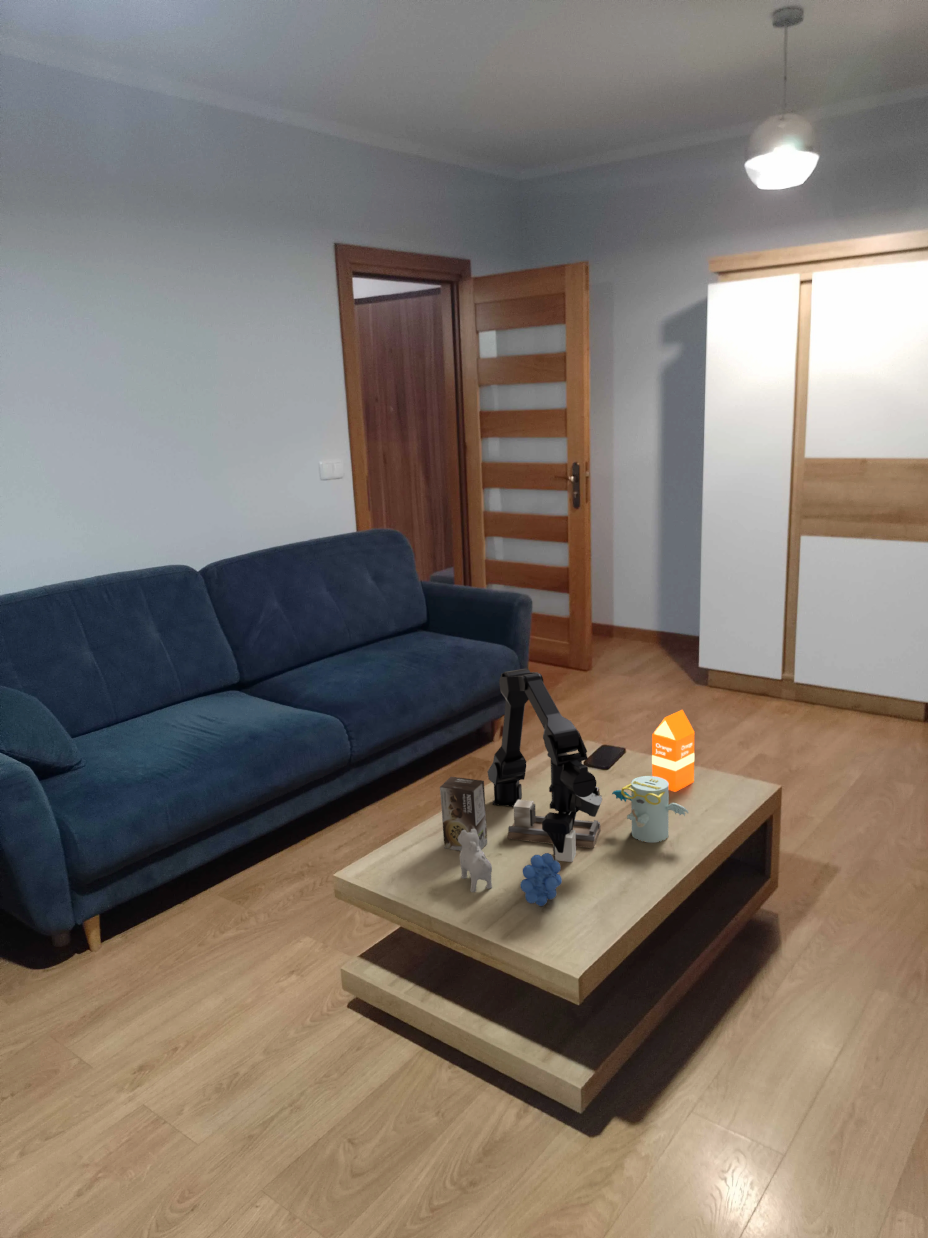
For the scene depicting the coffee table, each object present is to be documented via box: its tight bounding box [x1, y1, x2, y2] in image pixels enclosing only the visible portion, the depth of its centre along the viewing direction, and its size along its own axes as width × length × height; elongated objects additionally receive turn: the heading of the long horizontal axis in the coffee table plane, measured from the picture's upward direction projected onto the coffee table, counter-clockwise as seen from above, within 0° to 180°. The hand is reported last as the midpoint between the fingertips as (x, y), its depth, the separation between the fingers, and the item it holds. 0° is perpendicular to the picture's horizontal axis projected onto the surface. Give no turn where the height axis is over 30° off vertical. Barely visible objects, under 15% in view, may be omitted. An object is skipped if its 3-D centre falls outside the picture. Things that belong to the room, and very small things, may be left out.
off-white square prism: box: [552, 830, 577, 863], centre depth 211 cm, size 4×4×6 cm
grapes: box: [520, 852, 563, 907], centre depth 190 cm, size 12×7×12 cm, turn 132°
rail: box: [507, 799, 602, 849], centre depth 222 cm, size 21×9×8 cm, turn 71°
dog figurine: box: [458, 829, 493, 893], centre depth 203 cm, size 5×13×11 cm, turn 20°
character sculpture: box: [611, 775, 689, 843], centre depth 218 cm, size 20×12×13 cm, turn 52°
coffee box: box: [439, 776, 488, 852], centre depth 218 cm, size 9×6×16 cm
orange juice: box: [651, 709, 695, 793], centre depth 246 cm, size 8×9×20 cm
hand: (565, 843), depth 211 cm, fingers open, 9 cm apart
